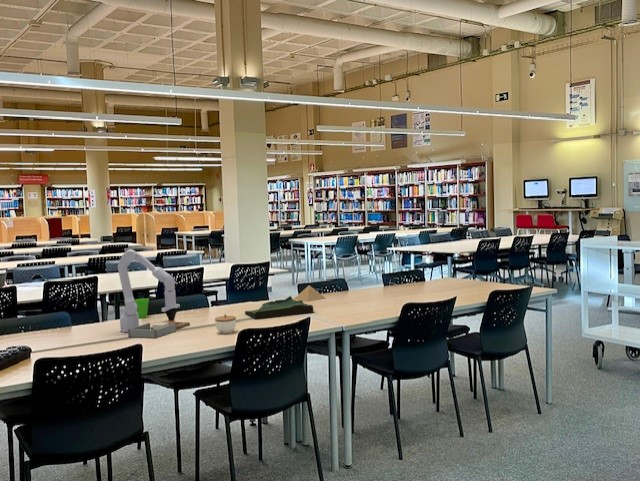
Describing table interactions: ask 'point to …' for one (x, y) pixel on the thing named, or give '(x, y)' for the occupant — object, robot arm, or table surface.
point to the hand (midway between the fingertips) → (171, 322)
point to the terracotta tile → (169, 322)
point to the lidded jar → (225, 324)
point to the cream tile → (160, 325)
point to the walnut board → (178, 325)
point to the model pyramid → (309, 295)
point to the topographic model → (280, 309)
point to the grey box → (150, 331)
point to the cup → (142, 307)
